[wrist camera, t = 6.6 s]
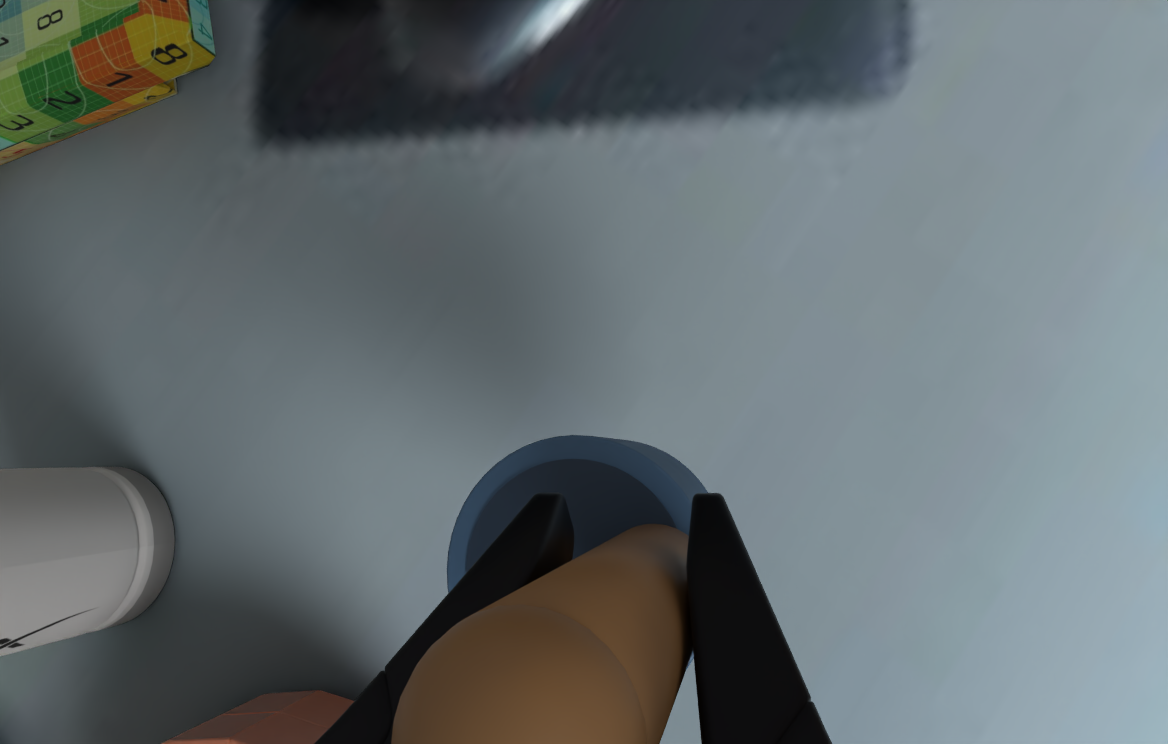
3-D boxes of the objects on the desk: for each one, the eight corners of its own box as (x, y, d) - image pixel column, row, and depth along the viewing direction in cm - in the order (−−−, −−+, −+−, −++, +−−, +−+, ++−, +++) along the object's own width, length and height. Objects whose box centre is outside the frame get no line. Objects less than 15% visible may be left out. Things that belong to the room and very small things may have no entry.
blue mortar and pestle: (722, 438, 17) (617, 391, 5) (729, 666, 16) (629, 1297, 4) (515, 441, 18) (8, 410, 6) (515, 653, 17) (-54, 1102, 5)
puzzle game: (-235, -49, 31) (136, -248, 27) (-107, 16, 35) (227, -145, 31) (-230, 197, 29) (173, 24, 25) (-95, 232, 33) (265, 91, 29)
